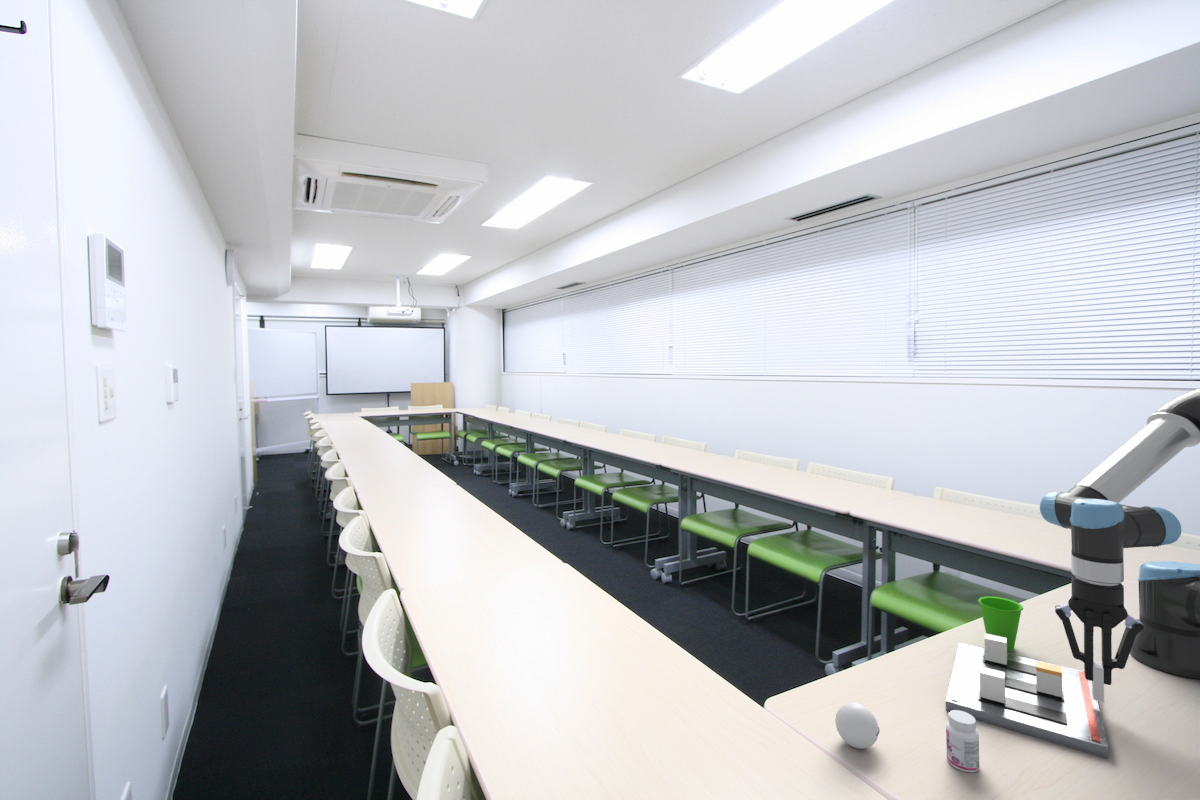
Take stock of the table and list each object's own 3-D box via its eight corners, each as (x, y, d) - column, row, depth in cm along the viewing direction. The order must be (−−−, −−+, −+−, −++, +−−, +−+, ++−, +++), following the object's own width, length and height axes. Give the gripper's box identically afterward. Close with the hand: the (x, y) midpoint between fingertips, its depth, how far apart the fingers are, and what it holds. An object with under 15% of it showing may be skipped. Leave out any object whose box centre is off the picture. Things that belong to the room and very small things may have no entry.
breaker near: (1005, 696, 108) (1004, 672, 108) (1004, 703, 105) (1004, 678, 105) (981, 689, 110) (980, 666, 110) (980, 696, 108) (979, 672, 108)
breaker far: (1007, 659, 122) (1006, 637, 122) (1006, 664, 119) (1006, 643, 119) (985, 654, 124) (985, 633, 124) (984, 659, 122) (984, 638, 122)
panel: (1090, 681, 116) (1090, 671, 116) (1108, 758, 93) (1108, 746, 93) (959, 650, 131) (959, 641, 131) (945, 710, 108) (945, 699, 108)
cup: (1032, 657, 127) (1031, 611, 127) (989, 654, 129) (989, 609, 129) (1011, 639, 136) (1010, 597, 136) (971, 637, 138) (971, 595, 138)
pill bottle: (940, 755, 95) (939, 709, 95) (965, 753, 95) (964, 707, 95) (960, 774, 90) (959, 726, 90) (986, 772, 91) (985, 723, 90)
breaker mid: (1061, 690, 109) (1061, 666, 109) (1062, 697, 107) (1062, 673, 107) (1036, 684, 112) (1036, 660, 111) (1036, 690, 109) (1036, 667, 109)
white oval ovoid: (878, 763, 93) (877, 722, 93) (832, 749, 97) (831, 710, 97) (882, 731, 102) (881, 694, 102) (840, 720, 106) (839, 683, 106)
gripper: (1140, 580, 103) (1141, 700, 103) (1052, 567, 111) (1053, 678, 111) (1147, 592, 97) (1148, 719, 97) (1054, 578, 105) (1055, 695, 106)
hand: (1097, 697), depth 104 cm, fingers closed
